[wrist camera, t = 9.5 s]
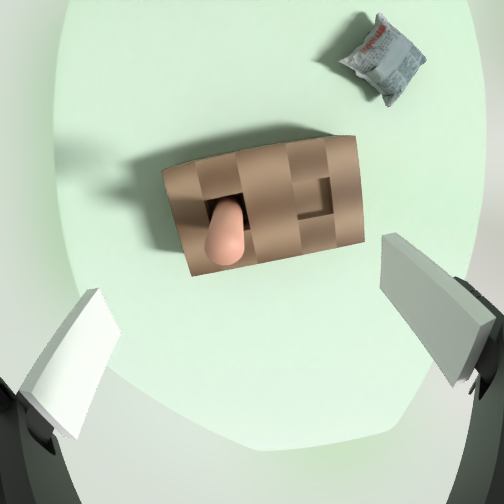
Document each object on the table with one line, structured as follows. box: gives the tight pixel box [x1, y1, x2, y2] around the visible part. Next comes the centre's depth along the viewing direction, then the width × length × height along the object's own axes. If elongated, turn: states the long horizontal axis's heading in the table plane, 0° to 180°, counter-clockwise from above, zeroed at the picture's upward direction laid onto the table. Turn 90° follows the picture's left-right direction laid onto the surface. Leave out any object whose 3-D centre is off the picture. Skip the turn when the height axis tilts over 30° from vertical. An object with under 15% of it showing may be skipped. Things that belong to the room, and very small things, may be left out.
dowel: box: [204, 194, 244, 265], centre depth 26 cm, size 3×3×12 cm
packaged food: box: [338, 13, 427, 107], centre depth 24 cm, size 9×12×5 cm
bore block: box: [161, 135, 365, 277], centre depth 31 cm, size 12×20×6 cm, turn 101°
